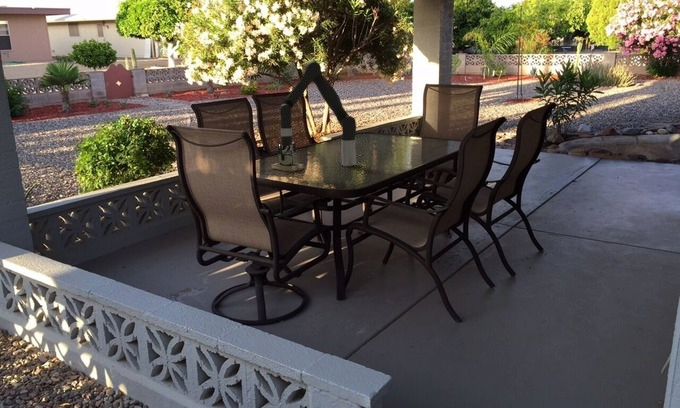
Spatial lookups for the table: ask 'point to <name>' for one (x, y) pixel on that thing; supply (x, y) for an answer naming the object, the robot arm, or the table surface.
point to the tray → (288, 167)
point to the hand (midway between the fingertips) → (287, 159)
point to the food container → (287, 159)
